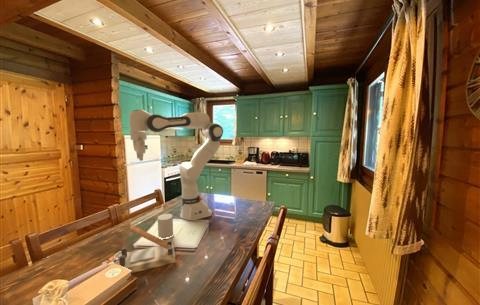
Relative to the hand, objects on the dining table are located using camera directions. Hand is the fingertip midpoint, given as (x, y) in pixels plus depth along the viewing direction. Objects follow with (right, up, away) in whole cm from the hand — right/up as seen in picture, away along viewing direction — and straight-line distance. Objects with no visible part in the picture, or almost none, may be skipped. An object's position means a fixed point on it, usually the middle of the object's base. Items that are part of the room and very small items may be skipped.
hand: (140, 159), depth 120 cm
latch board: (+17, -48, -26) cm, 57 cm away
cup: (+18, -45, -5) cm, 49 cm away
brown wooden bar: (+19, -37, -27) cm, 50 cm away
